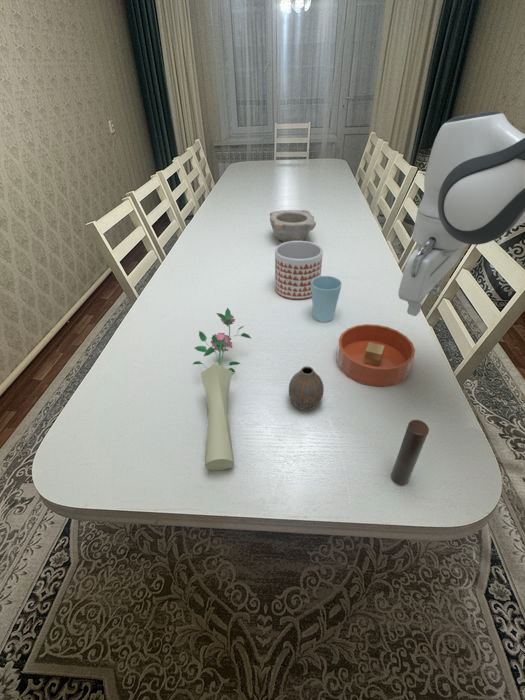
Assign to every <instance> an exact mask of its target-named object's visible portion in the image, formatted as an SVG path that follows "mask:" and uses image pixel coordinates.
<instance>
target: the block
mask: <svg viewBox="0 0 525 700" xmlns="http://www.w3.org/2000/svg"><path fill="white" fill-rule="evenodd" d="M383 351H384V345H380V344H375V343H371V342H369V343H368V346H367V349H366V352H365V357H364V363H367V364H371V365H375V366H379V365H380V362H381V359H382V355H383Z"/></svg>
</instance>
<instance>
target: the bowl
mask: <svg viewBox="0 0 525 700" xmlns="http://www.w3.org/2000/svg"><path fill="white" fill-rule="evenodd" d="M369 342H371V343H375V344H380V345H384V351H383V355H382V359H381V362H380V365H379V366H375V365H371V364H367V363H364V357H365V352H366V349H367V346H368V343H369ZM415 353H416V349H415V346H414V343H413V342H412V341H411V339H410V338H409V337H408V336H406V335H405V334H403V333H402V332H400V331H399V330H396V329H394V328H392V327H390V326H387V325H386V326H384V325H380V324H370V323H368V324H367V323H365V324H359V325H354V326H352V327H349V328H347V329H345V330H344V331H342V333H341V334H340V336H339V338H338V342H337V350H336V363H337V366H338V368H339V370H340V371H341V372H342V373H343V374H344V375H345V376H346V377H347V378H349V379H351V380H353V381H355V382H357V383H359V384H362V385H366V386H369V387H391V386H395V385H397V384H399V383H402V382H403V381H404V380H405V379H406V378H407V377H408V375H409V373H410V371H411V368H412V365H413V361H414V358H415Z"/></svg>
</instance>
